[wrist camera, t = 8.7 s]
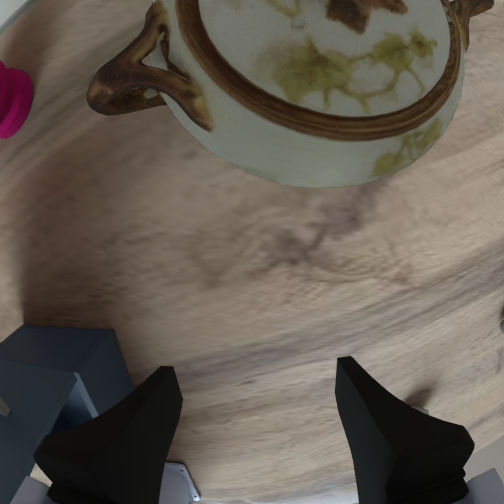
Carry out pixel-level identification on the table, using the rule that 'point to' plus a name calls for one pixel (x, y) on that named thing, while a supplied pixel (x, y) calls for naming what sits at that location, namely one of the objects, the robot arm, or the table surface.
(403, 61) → the sugar bowl
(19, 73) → the pepper mill
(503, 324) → the elephant statuette
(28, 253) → the table surface
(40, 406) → the lid
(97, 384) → the compartment
